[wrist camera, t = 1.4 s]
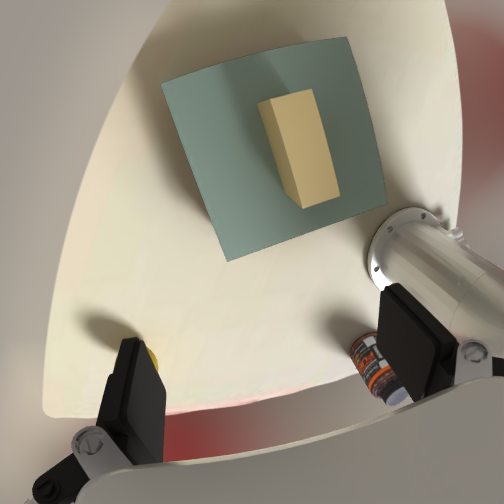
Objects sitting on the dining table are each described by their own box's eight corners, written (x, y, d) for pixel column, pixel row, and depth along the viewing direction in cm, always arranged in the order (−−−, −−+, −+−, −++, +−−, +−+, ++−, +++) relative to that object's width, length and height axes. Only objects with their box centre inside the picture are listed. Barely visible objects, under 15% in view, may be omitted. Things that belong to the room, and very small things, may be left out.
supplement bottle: (355, 332, 44) (390, 384, 34) (387, 329, 45) (425, 377, 35) (343, 362, 46) (373, 415, 36) (375, 359, 47) (407, 407, 37)
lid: (342, 38, 23) (374, 23, 17) (382, 201, 30) (417, 219, 24) (161, 85, 23) (151, 74, 17) (226, 257, 29) (232, 289, 24)
